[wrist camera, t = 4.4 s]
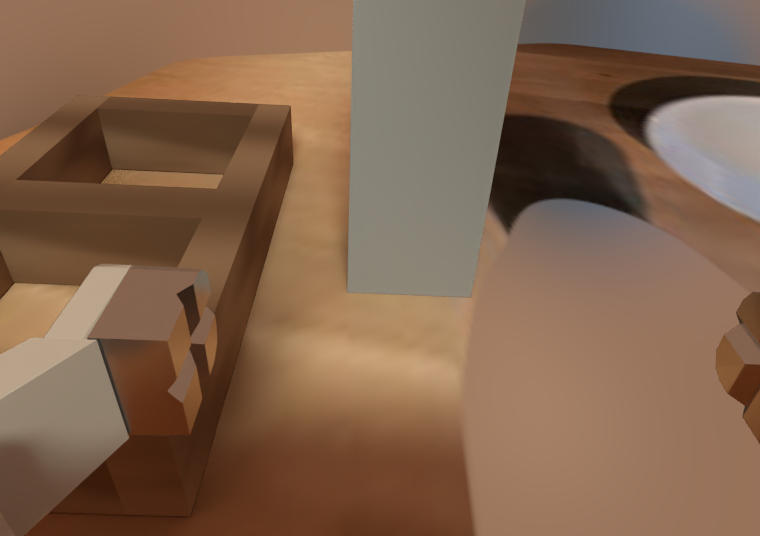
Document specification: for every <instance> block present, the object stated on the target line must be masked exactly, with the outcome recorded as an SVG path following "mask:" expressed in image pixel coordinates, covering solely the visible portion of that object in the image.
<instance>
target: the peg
mask: <svg viewBox="0 0 760 536" xmlns="http://www.w3.org/2000/svg"><path fill="white" fill-rule="evenodd" d="M525 2H526V0H353V38H352V39H353V40H352V87H351V136H350V185H349V234H348V282H347V292H352V293H376V294H400V295H424V296H449V297H471V294H472V288H473V283H474V278H475V272H476V267H477V261H478V256H479V251H480V245H481V240H482V234H483V229H484V224H485V218H486V213H487V207H488V202H489V196H490V191H491V186H492V180H493V175H494V169H495V164H496V159H497V153H498V148H499V142H500V137H501V132H502V126H503V121H504V115H505V110H506V105H507V99H508V94H509V88H510V83H511V77H512V72H513V67H514V61H515V56H516V50H517V45H518V40H519V34H520V29H521V23H522V18H523V12H524V7H525Z"/></svg>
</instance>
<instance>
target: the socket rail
mask: <svg viewBox="0 0 760 536" xmlns="http://www.w3.org/2000/svg"><path fill="white" fill-rule="evenodd" d="M292 166H293V147H292V124H291V106H288V105H268V104H248V103H228V102H208V101H188V100H167V99H147V98H127V97H107V96H87V95H77V96H76V97H75V98H73V99H72V100H71V101H70V102H68V103H67V104H66V105H64V106H63V107H62V108H61V109H59V110H58V111H57V112H56V113H54V114H53V115H52V116H50V117H49V118H48V119H47V120H45V121H44V122H43V123H41V124H40V125H39V126H38V127H36V128H35V129H34V130H32V131H31V132H30V133H29V134H27V135H26V136H25V137H24V138H22V139H21V140H20V141H18V142H17V143H16V144H15V145H13V146H12V147H11V148H9V149H8V150H7V151H6V152H4V153H3V154H2V155H1V156H0V298H1V297H2V295H3V294H4V293H5V292H6V291H7V290H8V289H9V287H10V286H11V285H12V284H13V283H14V282H15V283H39V284H64V285H81V284H82V283H83V281H84V280H85V278H86V277H87V276H88V274H89V273H90V271H91V270H92V269H93V268H94V267H95V266H98V265H100V264H121V265H133V266H136V265H143V266H159V267H175V268H192V269H203V270H204V271H205V272H206V273H207V274H208V278H209V283H210V288H211V294H210V297H209V299H208V302H207V305H206V307H207V308H208V309H209V310H210V311H212V312H213V313H214V314H215V318H216V325H217V347H216V354H215V361H214V364H213V367H212V371H211V374H210V376H208V377H207V378H206V379H205V380H203V381H202V382H201V383H200V388H201V394H202V401H201V404H200V407H199V410H198V413H197V416H196V419H195V422H194V425H193V427H192V430H191V433H190V435H129V439H128V440H127V441H126V442H124V443H123V444H122V445H121V446H120V447H119V448H118V449H117V450H116V451H115V452H114V453H113V454H112V455H110V456H109V457H108V458H107V459H106V460H105V461H104V462H103V463H102V464H101V465H100V466H99V467H98V468H96V469H95V470H94V471H93V472H92V473H91V474H90V475H89V476H88V477H87V478H86V479H85V480H84V481H82V482H81V483H80V484H79V485H78V486H77V487H76V488H75V489H74V490H73V491H72V492H71V493H70V494H68V495H67V496H66V497H65V498H64V499H63V500H62V501H61V502H60V503H59V504H58V505H57V506H56V507H54V508H53V509H52V510H51V511H50V513H82V514H115V515H148V516H180V517H191V513H192V510H193V506H194V503H195V499H196V496H197V492H198V489H199V486H200V482H201V479H202V475H203V472H204V468H205V465H206V462H207V458H208V455H209V451H210V448H211V444H212V441H213V437H214V434H215V431H216V427H217V424H218V420H219V417H220V413H221V410H222V407H223V403H224V400H225V396H226V393H227V389H228V386H229V382H230V379H231V376H232V372H233V369H234V365H235V362H236V358H237V355H238V352H239V348H240V345H241V341H242V338H243V334H244V331H245V327H246V324H247V321H248V317H249V314H250V310H251V307H252V303H253V300H254V297H255V293H256V290H257V286H258V283H259V279H260V276H261V272H262V269H263V266H264V262H265V259H266V255H267V252H268V248H269V245H270V242H271V238H272V235H273V231H274V228H275V224H276V221H277V217H278V214H279V211H280V207H281V204H282V200H283V197H284V193H285V190H286V187H287V183H288V180H289V176H290V173H291V169H292ZM111 169H128V170H150V171H171V172H193V173H214V174H224V175H223V177H222V179H221V181H220V183H219V185H218V187H217V189H206V188H184V187H162V186H140V185H118V184H99V183H100V182H101V181H102V180H103V179H104V178H105V176H106V175H107V174H108V173H109V172H110V171H111Z"/></svg>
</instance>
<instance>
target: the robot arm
mask: <svg viewBox="0 0 760 536" xmlns="http://www.w3.org/2000/svg"><path fill="white" fill-rule="evenodd" d="M210 294H211V288H210V283H209V278H208V274H207V273H206V272H205V271H204V270H203V269H192V268H175V267H159V266H143V265H136V266H133V265H121V264H100V265H98V266H95V267H94V268H93V269H92V270H91V271H90V273H89V274H88V276H87V277H86V278H85V280H84V281H83V283H82V284H81V285H80V287H79V288H78V290H77V291H76V292H75V294H74V295H73V297H72V298H71V299H70V301H69V302H68V304H67V305H66V307H65V308H64V309H63V311H62V312H61V314H60V315H59V316H58V318H57V319H56V321H55V322H54V323H53V325H52V326H51V328H50V329H49V330H48V332H47V333H46V335H45V336H44V337H43V338H35V337H32V338H30V339H28V340H26V341H24V342H22V343H21V344H19V345H17V346H15V347H13V348H11V349H9V350H8V351H6V352H4V353H2V354H0V536H24V535H25V534H26V533H28V532H29V531H30V530H31V529H32V528H33V527H34V526H35V525H36V524H37V523H38V522H39V521H40V520H42V519H43V518H44V517H45V516H46V515H47V514H48V513H49V512H50V511H51V510H52V509H53V508H54V507H56V506H57V505H58V504H59V503H60V502H61V501H62V500H63V499H64V498H65V497H66V496H67V495H68V494H70V493H71V492H72V491H73V490H74V489H75V488H76V487H77V486H78V485H79V484H80V483H81V482H82V481H84V480H85V479H86V478H87V477H88V476H89V475H90V474H91V473H92V472H93V471H94V470H95V469H96V468H98V467H99V466H100V465H101V464H102V463H103V462H104V461H105V460H106V459H107V458H108V457H109V456H110V455H112V454H113V453H114V452H115V451H116V450H117V449H118V448H119V447H120V446H121V445H122V444H123V443H124V442H126V441H127V440H128V439H129V435H190V433H191V430H192V427H193V425H194V422H195V419H196V416H197V413H198V410H199V407H200V404H201V401H202V394H201V388H200V383H201V382H202V381H203V380H205V379H206V378H207V377H208V376H210V374H211V371H212V367H213V364H214V361H215V354H216V347H217V325H216V318H215V314H214V313H213V312H212V311H210V310H209V309H208V308H207V307H206V305H207V302H208V299H209V297H210ZM736 314H737V317H738V320H739V323H740V324H739V325H737V326H736V327H735V328H733V329H731V330H730V331H729V332H727V333H725V334H724V336H723V338H722V340H721V342H720V344H719V346H718V348H717V350H716V370H717V374H718V377H719V380H720V382H721V384H722V385H723V387H724V389H725V390H726V392H727V393H728V394H729V395H730V396H732V397H733V398H735V399H736V400H737V401H739V402H740V403H742V404H743V405H745V408H744V412H743V419H744V420H745V422H746V423H747V425H748V426H749V428H750V429H751V431H752V432H753V434H754V436H755V437H756V439H757V440H758V442H759V443H760V292H752V293H751V294H750V295H749V296H747V297H746V298H745V299H744V300H743V301H742V303H741V305H740V307H739V308H738V310H737V312H736Z"/></svg>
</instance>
